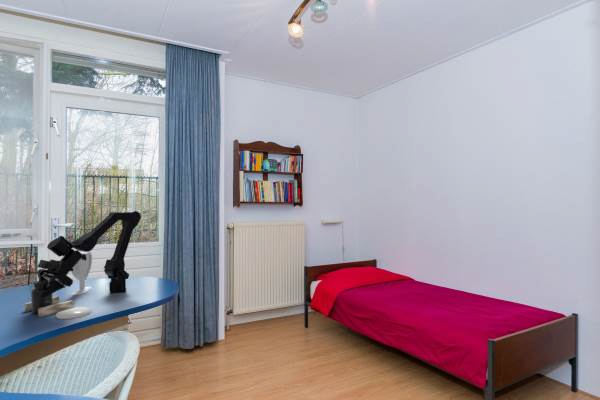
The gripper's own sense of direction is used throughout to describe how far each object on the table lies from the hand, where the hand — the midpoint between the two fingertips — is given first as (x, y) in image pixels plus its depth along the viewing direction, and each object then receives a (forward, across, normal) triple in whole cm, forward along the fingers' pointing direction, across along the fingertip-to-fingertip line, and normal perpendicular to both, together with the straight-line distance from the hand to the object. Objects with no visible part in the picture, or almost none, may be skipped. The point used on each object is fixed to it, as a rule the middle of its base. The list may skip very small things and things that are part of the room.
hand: (37, 295), depth 140 cm
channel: (+2, 0, +7) cm, 8 cm away
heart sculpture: (-13, -17, +23) cm, 31 cm away
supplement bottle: (+4, 0, +6) cm, 7 cm away
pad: (0, +14, +9) cm, 17 cm away
